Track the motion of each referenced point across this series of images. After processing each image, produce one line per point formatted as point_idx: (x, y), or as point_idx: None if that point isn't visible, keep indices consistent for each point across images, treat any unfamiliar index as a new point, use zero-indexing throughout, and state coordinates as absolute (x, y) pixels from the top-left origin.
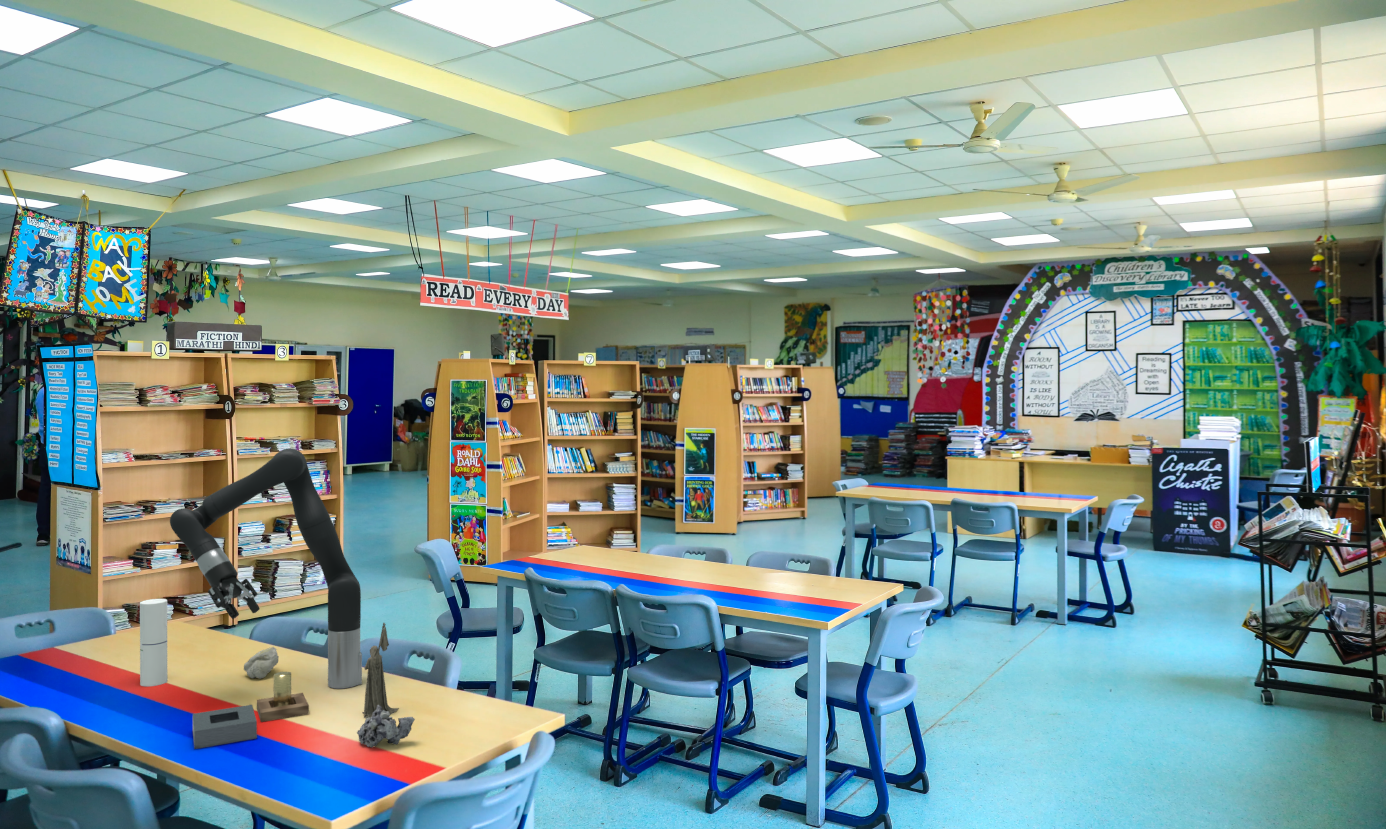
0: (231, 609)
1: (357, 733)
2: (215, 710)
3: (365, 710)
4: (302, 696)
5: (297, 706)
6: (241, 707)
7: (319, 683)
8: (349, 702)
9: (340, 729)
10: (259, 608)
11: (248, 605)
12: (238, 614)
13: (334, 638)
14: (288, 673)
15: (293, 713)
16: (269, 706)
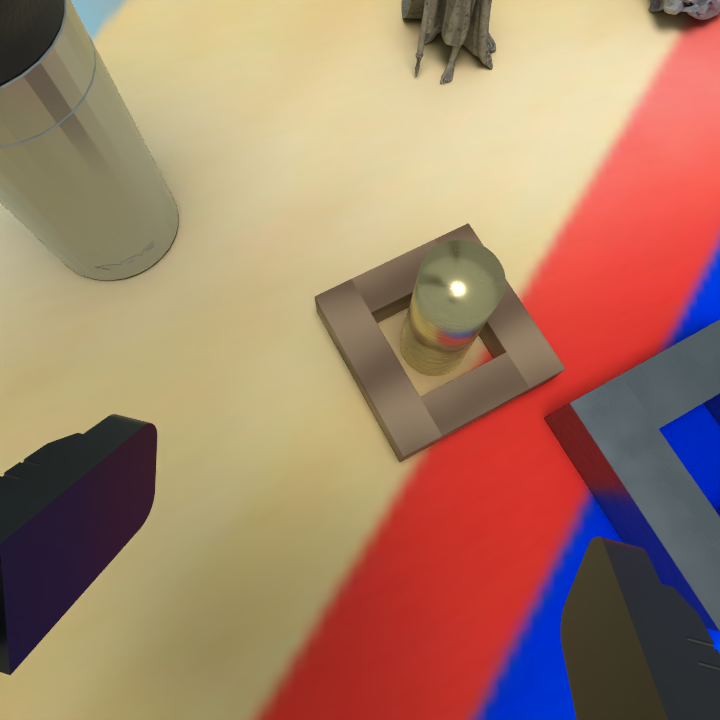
0: (711, 679)
1: (703, 12)
2: (662, 537)
3: (485, 49)
4: (364, 281)
5: None
6: (610, 432)
7: (88, 323)
8: (337, 149)
9: (593, 105)
10: (115, 414)
11: (51, 615)
12: (604, 540)
13: (75, 79)
14: (451, 253)
15: None
16: (488, 365)
